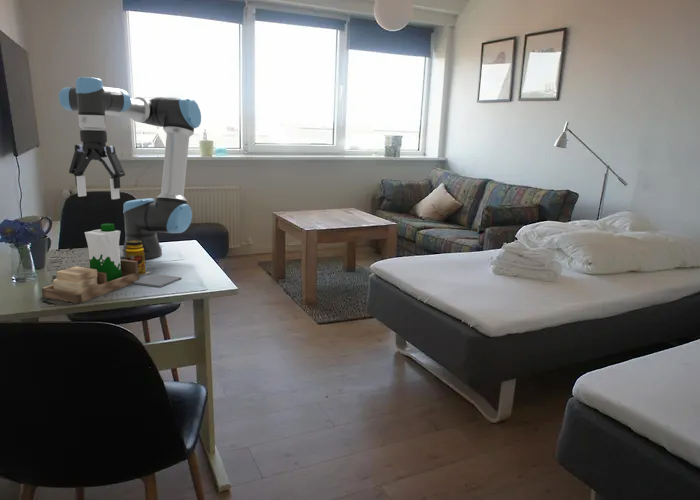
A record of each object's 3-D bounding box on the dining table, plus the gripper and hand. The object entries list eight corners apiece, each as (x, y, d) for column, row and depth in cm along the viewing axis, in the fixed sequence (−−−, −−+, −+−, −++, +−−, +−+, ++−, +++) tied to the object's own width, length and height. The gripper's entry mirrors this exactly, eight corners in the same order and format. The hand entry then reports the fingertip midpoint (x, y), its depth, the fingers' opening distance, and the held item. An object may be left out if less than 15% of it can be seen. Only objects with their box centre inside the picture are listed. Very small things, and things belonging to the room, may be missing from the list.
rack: (105, 276, 180) (104, 257, 178) (139, 281, 175) (137, 261, 173) (42, 297, 156) (40, 275, 155) (79, 303, 152) (76, 280, 150)
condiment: (134, 277, 179) (132, 244, 177) (118, 273, 183) (116, 241, 181) (151, 272, 185) (149, 240, 183) (136, 269, 190) (133, 237, 187)
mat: (155, 275, 182) (155, 273, 182) (181, 278, 179) (181, 277, 178) (133, 283, 172) (133, 281, 172) (160, 287, 168) (160, 285, 168)
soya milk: (127, 282, 173) (122, 224, 168) (103, 289, 165) (98, 228, 160) (109, 278, 177) (105, 221, 172) (86, 285, 169) (80, 225, 164)
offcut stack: (75, 289, 165) (73, 265, 164) (100, 292, 162) (98, 269, 161) (53, 296, 158) (50, 272, 156) (79, 300, 155) (77, 275, 153)
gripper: (52, 128, 160) (59, 196, 165) (115, 130, 152) (121, 201, 157) (72, 129, 167) (78, 193, 171) (134, 130, 159) (138, 198, 163)
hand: (98, 197), depth 164 cm, fingers open, 13 cm apart
